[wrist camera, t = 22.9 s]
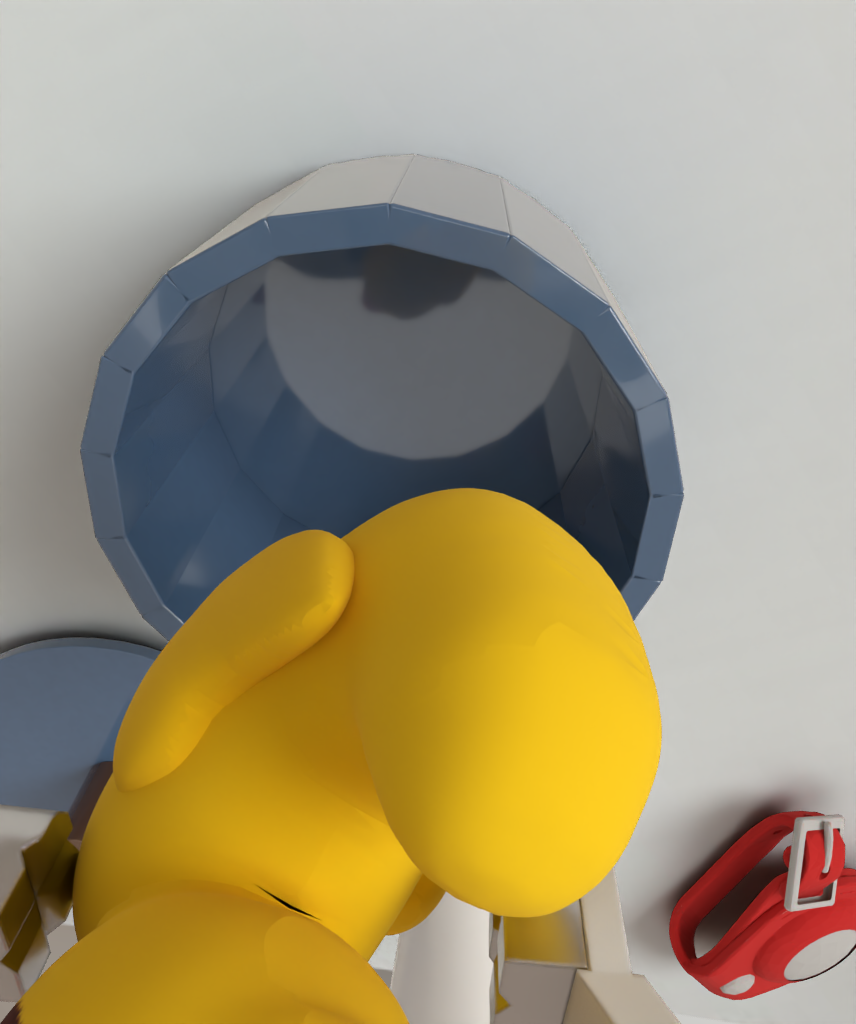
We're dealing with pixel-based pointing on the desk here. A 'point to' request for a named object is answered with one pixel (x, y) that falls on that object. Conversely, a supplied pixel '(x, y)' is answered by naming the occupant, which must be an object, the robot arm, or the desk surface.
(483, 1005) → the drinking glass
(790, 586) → the desk surface
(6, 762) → the lid
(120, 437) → the pot
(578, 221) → the desk surface
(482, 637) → the duckling
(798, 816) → the tracker holder
